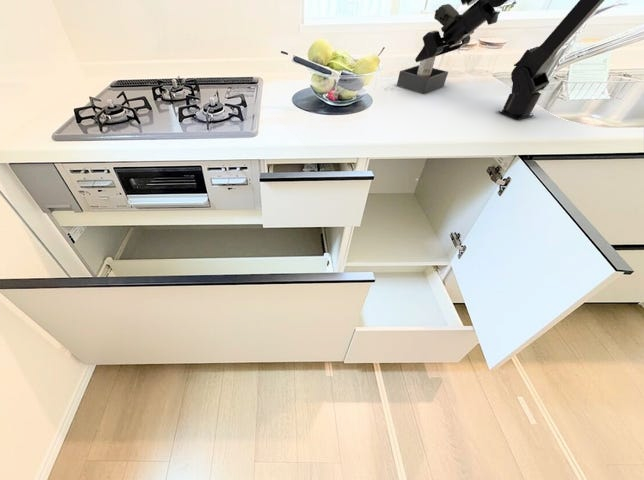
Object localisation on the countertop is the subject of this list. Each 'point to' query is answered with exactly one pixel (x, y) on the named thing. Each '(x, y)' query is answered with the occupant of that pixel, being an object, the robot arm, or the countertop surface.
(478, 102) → the countertop surface
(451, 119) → the countertop surface
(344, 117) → the countertop surface
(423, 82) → the dark grey square tray
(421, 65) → the sprinkles bottle
